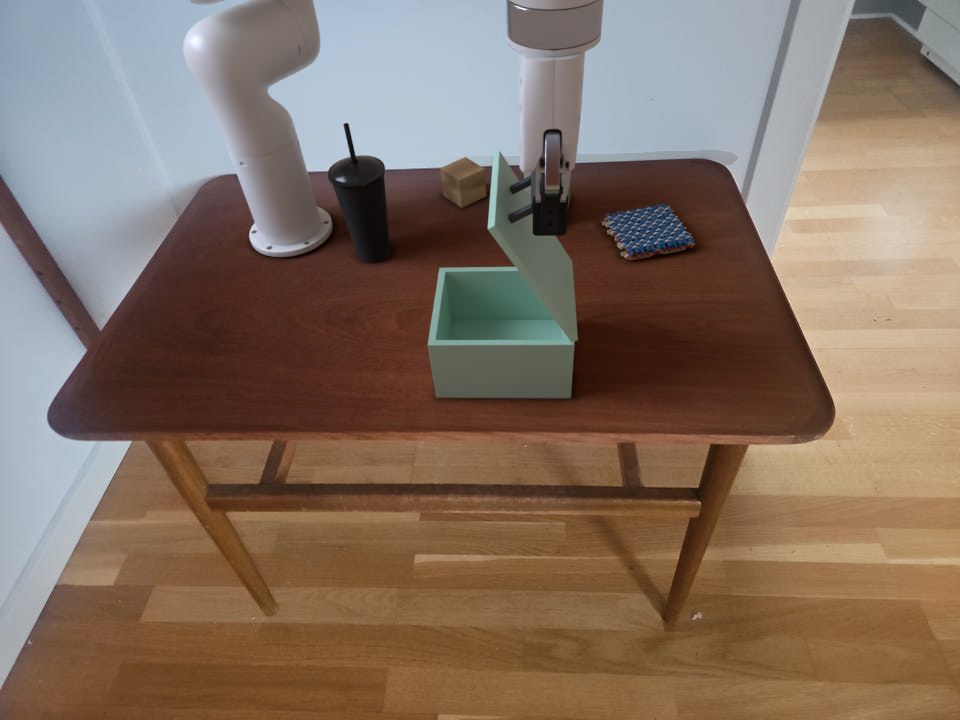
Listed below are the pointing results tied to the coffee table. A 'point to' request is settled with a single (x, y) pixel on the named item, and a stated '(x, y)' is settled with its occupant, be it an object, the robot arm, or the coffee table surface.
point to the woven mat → (648, 232)
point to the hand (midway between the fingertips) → (548, 211)
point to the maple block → (463, 182)
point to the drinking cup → (363, 201)
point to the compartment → (495, 338)
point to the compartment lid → (531, 244)
